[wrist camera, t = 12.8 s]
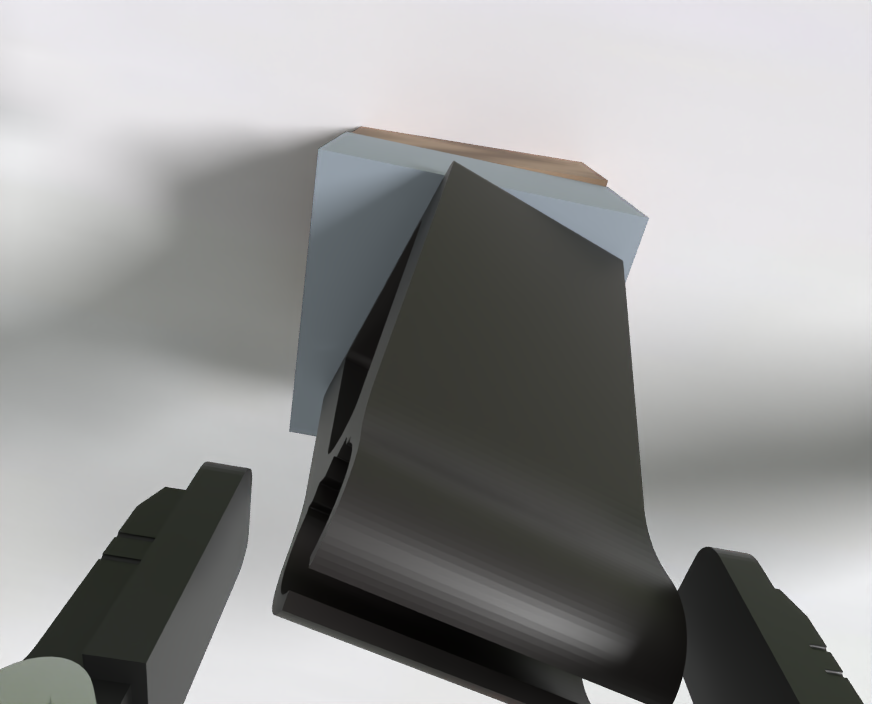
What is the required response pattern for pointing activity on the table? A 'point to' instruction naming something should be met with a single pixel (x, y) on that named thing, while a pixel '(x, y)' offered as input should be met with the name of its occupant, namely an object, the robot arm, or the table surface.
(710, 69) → the table surface
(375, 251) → the tower top
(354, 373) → the phone stand
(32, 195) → the table surface
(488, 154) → the tower bottom
